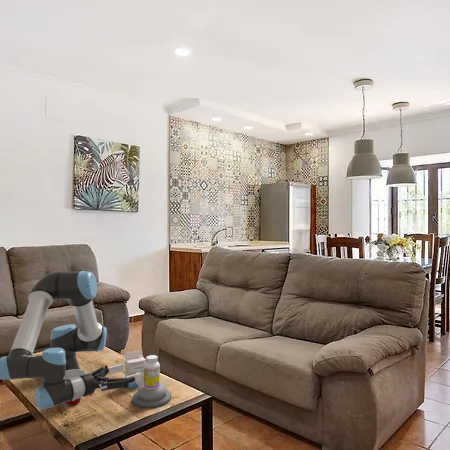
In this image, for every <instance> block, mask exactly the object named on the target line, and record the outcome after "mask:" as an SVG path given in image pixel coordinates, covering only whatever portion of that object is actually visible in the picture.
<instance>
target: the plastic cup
mask: <svg viewBox="0 0 450 450" xmlns="http://www.w3.org/2000/svg"><path fill="white" fill-rule="evenodd" d="M85 374H88V372H87V371H85V370H83V369H80V370H77V369H74V370H67V371H66V380H67V379H70V378H74V377H77V376H79V377H80V376H81V375H85ZM81 399H82V397H81V398H78V399H75V400H74V401H68V402H65V405H66V406H77V405H78V404H79V403H80V402H81Z"/></svg>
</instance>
